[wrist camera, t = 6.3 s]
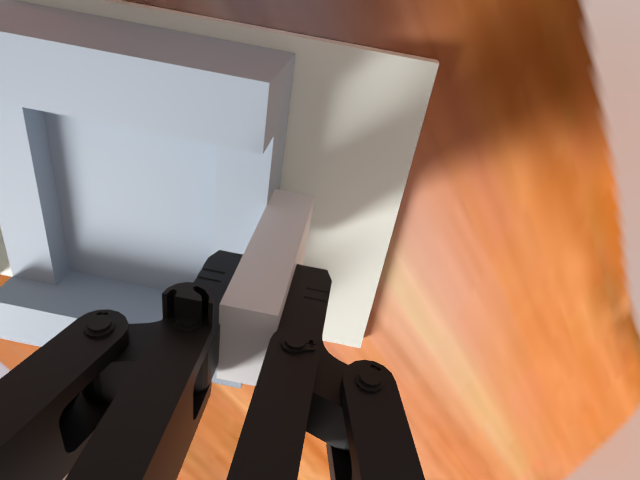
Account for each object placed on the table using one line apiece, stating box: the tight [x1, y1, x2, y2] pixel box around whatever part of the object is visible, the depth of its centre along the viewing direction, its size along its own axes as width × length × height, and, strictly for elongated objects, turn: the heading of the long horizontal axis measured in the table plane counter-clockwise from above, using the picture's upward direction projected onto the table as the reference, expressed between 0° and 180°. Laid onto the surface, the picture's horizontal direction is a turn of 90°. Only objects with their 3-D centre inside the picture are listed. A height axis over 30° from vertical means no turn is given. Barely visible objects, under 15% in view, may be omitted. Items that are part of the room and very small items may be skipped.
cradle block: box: [0, 0, 296, 388], centre depth 17 cm, size 12×10×4 cm
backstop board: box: [0, 0, 439, 348], centre depth 18 cm, size 13×20×4 cm, turn 81°
